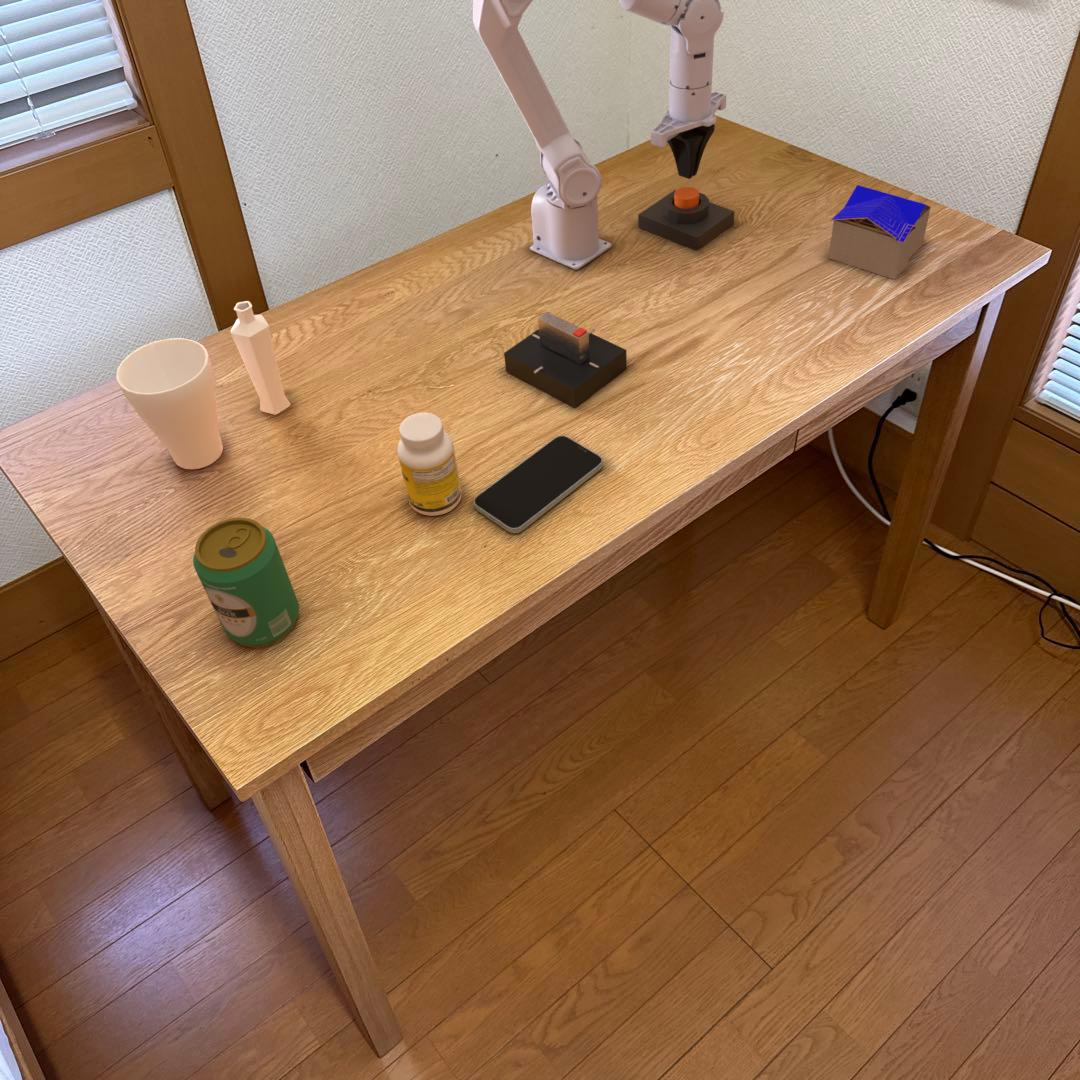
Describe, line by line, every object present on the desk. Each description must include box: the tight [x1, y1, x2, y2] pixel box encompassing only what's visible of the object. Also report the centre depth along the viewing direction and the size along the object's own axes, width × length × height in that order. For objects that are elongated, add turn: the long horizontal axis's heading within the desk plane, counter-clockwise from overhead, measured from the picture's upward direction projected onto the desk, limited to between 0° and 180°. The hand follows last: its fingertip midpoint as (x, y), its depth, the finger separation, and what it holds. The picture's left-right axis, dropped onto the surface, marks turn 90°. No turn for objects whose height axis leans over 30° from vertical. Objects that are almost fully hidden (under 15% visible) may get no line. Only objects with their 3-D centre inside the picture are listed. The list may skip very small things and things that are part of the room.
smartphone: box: [473, 435, 604, 534], centre depth 120 cm, size 7×1×15 cm
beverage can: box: [192, 517, 300, 649], centre depth 105 cm, size 8×8×12 cm
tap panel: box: [503, 328, 628, 409], centre depth 134 cm, size 12×11×3 cm
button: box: [674, 186, 700, 209], centre depth 153 cm, size 4×4×2 cm
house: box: [827, 184, 932, 280], centre depth 145 cm, size 10×11×8 cm
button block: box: [637, 189, 735, 251], centre depth 155 cm, size 11×9×4 cm
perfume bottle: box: [229, 300, 292, 416], centre depth 129 cm, size 5×4×15 cm
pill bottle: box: [396, 412, 463, 517], centre depth 116 cm, size 6×6×11 cm
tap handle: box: [537, 311, 590, 365], centre depth 131 cm, size 7×2×4 cm, turn 46°
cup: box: [115, 337, 224, 470], centre depth 124 cm, size 10×10×14 cm
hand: (687, 174), depth 151 cm, fingers closed
